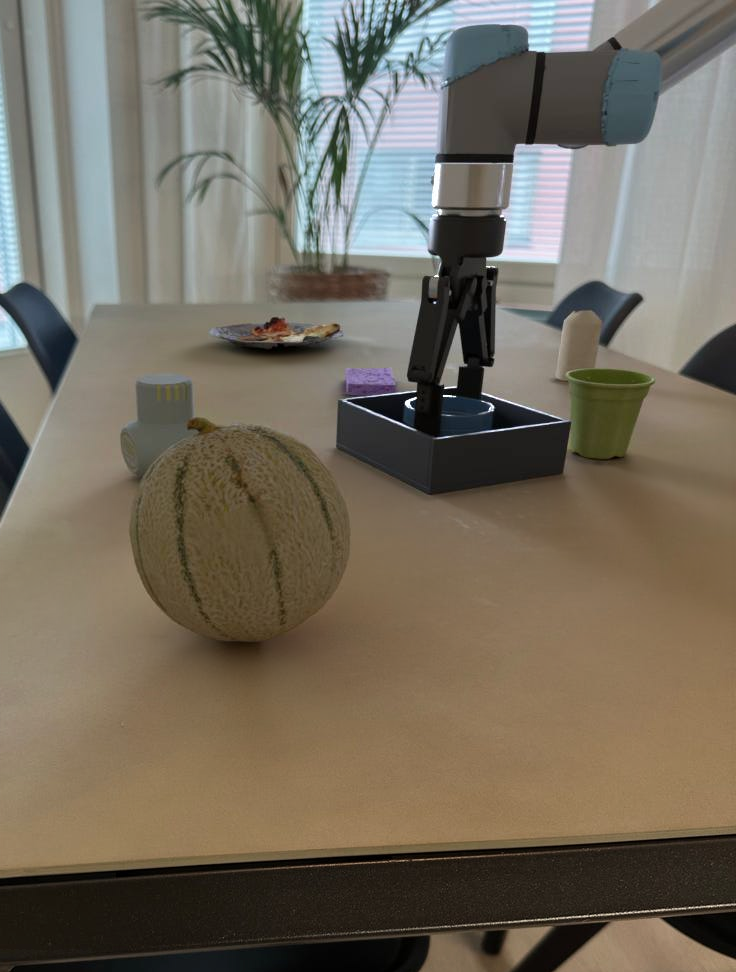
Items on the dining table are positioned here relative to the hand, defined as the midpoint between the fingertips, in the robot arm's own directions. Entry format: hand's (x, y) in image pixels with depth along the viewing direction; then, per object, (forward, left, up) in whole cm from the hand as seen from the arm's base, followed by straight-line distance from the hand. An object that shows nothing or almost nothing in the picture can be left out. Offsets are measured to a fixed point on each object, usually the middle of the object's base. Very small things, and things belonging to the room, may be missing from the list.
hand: (446, 434), depth 101 cm
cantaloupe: (-29, +38, -3) cm, 48 cm away
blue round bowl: (0, 0, 0) cm, 0 cm away
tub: (0, 0, -3) cm, 3 cm away
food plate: (+76, -16, -3) cm, 78 cm away
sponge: (+36, -12, -3) cm, 38 cm away
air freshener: (+8, +30, -3) cm, 31 cm away
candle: (+28, -44, -3) cm, 52 cm away
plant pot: (-5, -18, -3) cm, 19 cm away
